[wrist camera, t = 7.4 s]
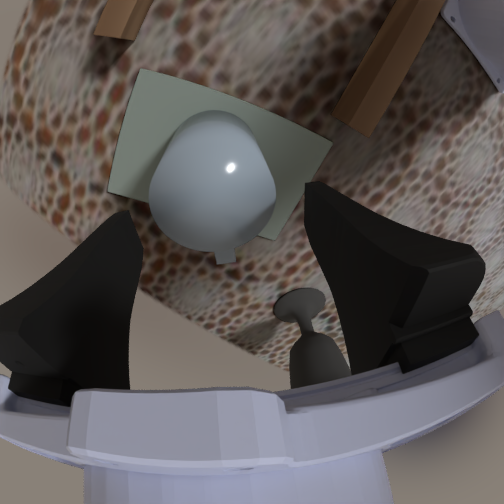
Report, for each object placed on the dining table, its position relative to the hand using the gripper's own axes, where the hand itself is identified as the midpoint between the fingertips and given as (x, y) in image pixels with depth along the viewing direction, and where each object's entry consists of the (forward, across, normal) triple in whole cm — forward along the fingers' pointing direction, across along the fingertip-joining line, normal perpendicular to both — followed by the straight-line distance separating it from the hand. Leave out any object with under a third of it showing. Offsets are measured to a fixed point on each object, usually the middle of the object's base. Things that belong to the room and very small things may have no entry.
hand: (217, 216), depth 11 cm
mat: (+6, 0, 0) cm, 6 cm away
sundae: (+6, -5, +15) cm, 17 cm away
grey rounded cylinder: (+6, 0, -1) cm, 6 cm away
